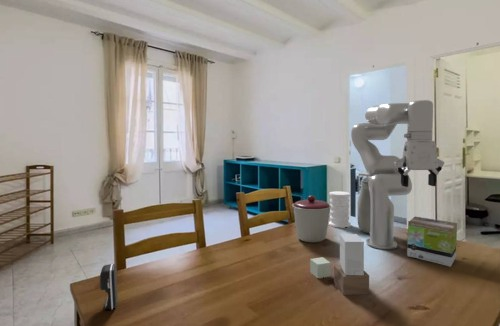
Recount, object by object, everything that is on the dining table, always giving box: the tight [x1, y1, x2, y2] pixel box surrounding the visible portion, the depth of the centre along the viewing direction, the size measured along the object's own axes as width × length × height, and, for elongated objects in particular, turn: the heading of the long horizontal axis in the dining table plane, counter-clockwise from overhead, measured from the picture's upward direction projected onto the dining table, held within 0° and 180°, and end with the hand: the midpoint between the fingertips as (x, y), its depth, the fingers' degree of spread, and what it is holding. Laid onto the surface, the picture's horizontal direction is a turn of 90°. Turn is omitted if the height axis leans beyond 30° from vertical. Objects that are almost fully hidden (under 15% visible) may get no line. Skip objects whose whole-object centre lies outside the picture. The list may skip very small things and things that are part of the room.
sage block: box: [309, 257, 331, 279], centre depth 103 cm, size 5×5×5 cm
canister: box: [291, 195, 331, 244], centre depth 139 cm, size 18×18×21 cm
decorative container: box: [328, 190, 352, 229], centre depth 162 cm, size 12×12×18 cm
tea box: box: [406, 216, 458, 268], centre depth 115 cm, size 15×10×15 cm
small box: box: [339, 233, 365, 275], centre depth 92 cm, size 8×6×10 cm
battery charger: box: [99, 263, 118, 310], centre depth 85 cm, size 7×4×11 cm, turn 20°
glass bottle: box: [357, 177, 370, 234], centre depth 148 cm, size 10×10×28 cm
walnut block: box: [333, 264, 370, 296], centre depth 93 cm, size 8×8×6 cm
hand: (418, 186), depth 103 cm, fingers open, 9 cm apart
